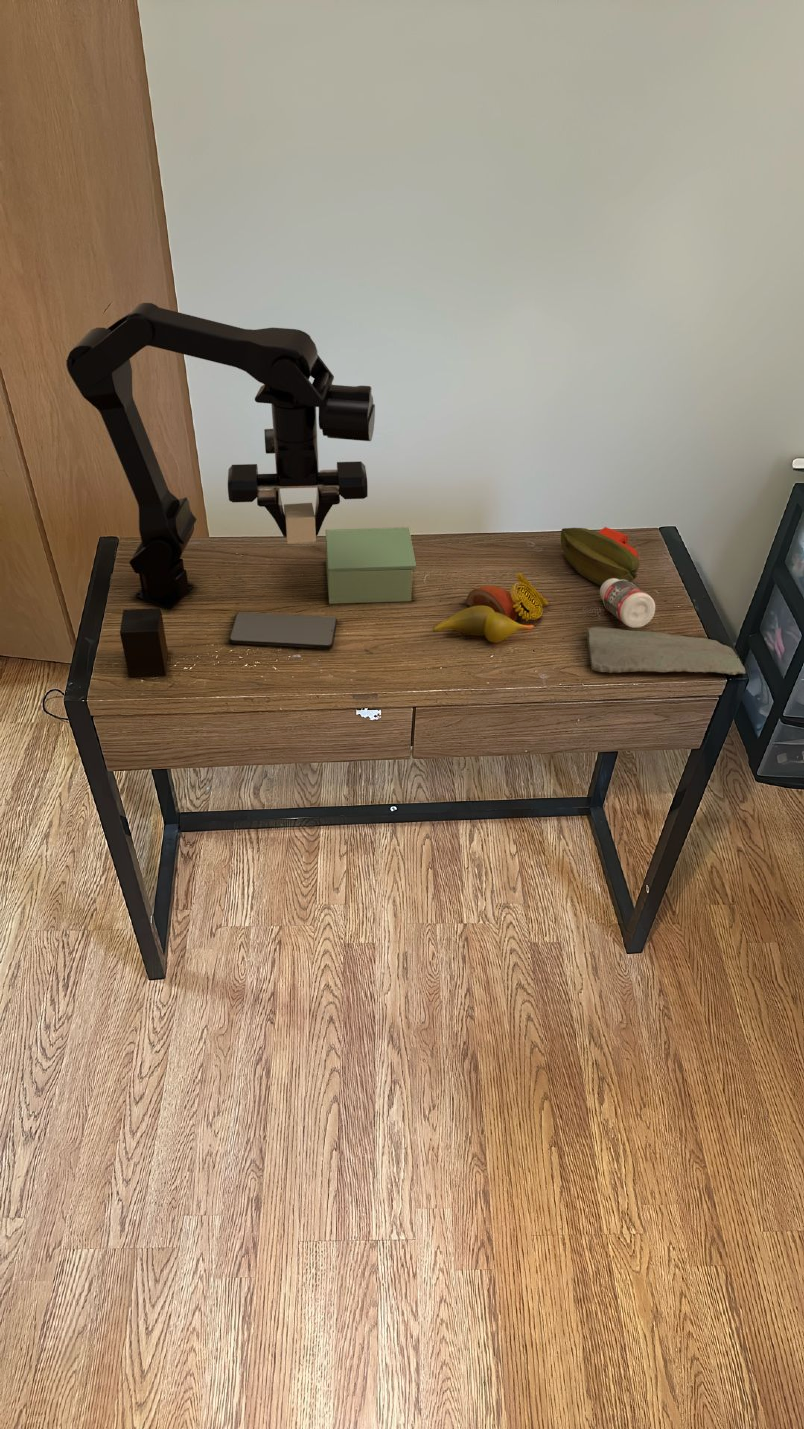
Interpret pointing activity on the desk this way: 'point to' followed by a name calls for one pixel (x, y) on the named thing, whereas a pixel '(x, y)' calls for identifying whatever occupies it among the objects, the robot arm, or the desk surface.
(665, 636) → the stone slab
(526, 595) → the logo
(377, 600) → the case
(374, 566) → the cover
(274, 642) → the smartphone
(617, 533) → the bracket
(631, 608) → the pill bottle
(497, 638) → the yellow tapered piece
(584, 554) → the fruit
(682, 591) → the desk surface
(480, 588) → the fruit slice
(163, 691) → the desk surface
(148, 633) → the stand
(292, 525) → the block
